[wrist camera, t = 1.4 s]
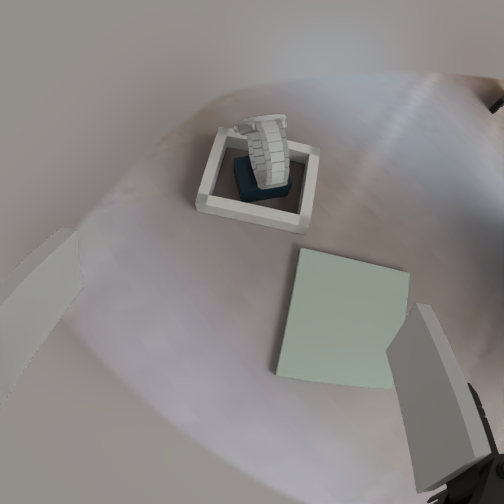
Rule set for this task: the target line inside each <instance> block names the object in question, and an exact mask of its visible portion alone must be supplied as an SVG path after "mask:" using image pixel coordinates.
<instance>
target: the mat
mask: <svg viewBox="0 0 504 504" xmlns="http://www.w3.org/2000/svg"><path fill="white" fill-rule="evenodd" d="M409 279H410V273H407V272H403V271H399V270H395V269H391V268H387V267H382V266H378V265H374V264H370V263H366V262H361V261H357V260H353V259H349V258H344V257H340V256H336V255H331V254H327V253H323V252H318V251H314V250H310V249H305V248H300V251H299V256H298V262H297V268H296V273H295V278H294V284H293V289H292V294H291V300H290V305H289V310H288V315H287V320H286V325H285V330H284V335H283V339H282V344H281V349H280V354H279V358H278V363H277V367H276V372H275V375H276V376H281V377H287V378H293V379H300V380H306V381H313V382H321V383H329V384H337V385H346V386H356V387H367V388H380V389H392V388H393V384H394V380H393V376H392V373H391V369H390V365H389V362H388V358H387V355H386V349H387V348H388V346H389V345H390V343H391V342H392V340H393V339H394V337H395V336H396V334H397V333H398V331H399V329H400V328H401V326H402V325H403V323H404V321H405V315H406V307H407V299H408V290H409Z"/></svg>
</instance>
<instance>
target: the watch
mask: <svg viewBox="0 0 504 504" xmlns="http://www.w3.org/2000/svg"><path fill="white" fill-rule="evenodd" d="M285 118H286V115H283V114H270V115H261V116H255V117H250V118H246V119H243V120H240V121H238V122H237V125H234V126H233V130H234V133H238V132H239V134H240V135H243V136H247V144H248V151H249V154H250V155H249V156H245V157H239V158H234V175H235V179H236V184H237V188H238V192H239V197H240V201H241V202H245V203H248V202H253V201H259V200H265V199H270V198H276V197H282V196H287V195H288V192H289V190H290V188H291V185H292V182H291V179H290V176H289V148H288V142H287V137H286V133H285V128H286V126H287V124H286V119H285ZM258 147H260V148H258ZM283 147H285V148H283ZM277 151H279V152H277ZM270 152H271V153H270ZM284 157H285V158H284Z"/></svg>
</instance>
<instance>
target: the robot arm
mask: <svg viewBox="0 0 504 504" xmlns="http://www.w3.org/2000/svg"><path fill="white" fill-rule="evenodd" d="M83 288H84V285H83V279H82V272H81V265H80V257H79V248H78V239H77V230H73V229H68V228H64V227H61V228H60V229H59V230H57V231H56V232H55V233H54V234H52V235H51V236H50V237H49V238H48V239H47V240H45V241H44V242H43V243H42V244H41V245H40V246H39V247H37V248H36V249H35V250H34V251H33V252H32V253H31V254H29V255H28V256H27V257H26V258H25V259H24V260H23V261H22V262H21V263H20V264H19V265H17V266H16V267H15V268H14V269H13V270H12V271H11V272H10V273H9V274H8V275H7V276H6V277H5V278H4V279H3V280H2V281H1V282H0V409H1V407H2V405H3V404H4V402H5V400H6V399H7V397H8V395H9V394H10V392H11V390H12V389H13V387H14V385H15V384H16V382H17V381H18V379H19V378H20V376H21V374H22V373H23V371H24V370H25V368H26V366H27V365H28V364H29V362H30V361H31V359H32V358H33V356H34V355H35V353H36V352H37V350H38V349H39V347H40V346H41V345H42V343H43V342H44V340H45V339H46V337H47V336H48V334H49V333H50V332H51V330H52V329H53V328H54V326H55V325H56V324H57V322H58V321H59V319H60V318H61V317H62V315H63V314H64V313H65V311H66V310H67V309H68V308H69V306H70V305H71V304H72V302H73V301H74V300H75V298H76V297H77V296H78V295H79V293H80V292H81V291H82V290H83ZM386 355H387V358H388V362H389V365H390V369H391V373H392V376H393V380H394V384H395V388H396V392H397V396H398V400H399V404H400V408H401V412H402V417H403V421H404V426H405V430H406V435H407V440H408V445H409V450H410V455H411V461H412V466H413V472H414V478H415V485H416V491H417V493H422V492H427V491H432V490H435V489H437V488H439V487H440V486H442V485H444V484H445V483H446V485H447V489H445V490H443V491H441V492H440V493H438V494H436V495H434V496H432V497H431V498H430V499H429V500H428V501H427V503H430V502H432V501H434V500H436V499H438V498H439V499H438V501H436V502H435V503H433V504H504V454H499V453H498V450H497V447H496V444H495V441H494V438H493V435H492V432H491V429H490V426H489V423H488V420H487V418H485V412H484V410H483V408H482V404H481V402H480V399H479V397H478V394H477V393H476V391H475V390H474V389H473V387H472V386H471V385H470V383H467V382H466V380H465V377H464V375H463V372H462V370H461V368H460V365H459V363H458V361H457V359H456V356H455V354H454V352H453V350H452V348H451V346H450V343H449V341H448V339H447V337H446V335H445V333H444V331H443V329H442V327H441V325H440V323H439V321H438V319H437V317H436V315H435V313H434V311H433V309H432V307H431V305H427V304H421V303H415V304H414V306H413V308H412V310H411V311H410V313H409V315H408V316H407V318H406V320H405V321H404V323H403V325H402V326H401V328H400V329H399V331H398V333H397V334H396V336H395V337H394V339H393V340H392V342H391V343H390V345H389V346H388V348H387V349H386Z"/></svg>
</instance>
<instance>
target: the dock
mask: <svg viewBox="0 0 504 504" xmlns="http://www.w3.org/2000/svg"><path fill="white" fill-rule="evenodd" d="M287 142H288V148H289V160H290V161H294V162H299V163H303V164H305V169H304V175H303V181H302V188H301V194H300V200H299V205H298V211H297V214H294V213H290V212H285V211H281V210H277V209H272V208H268V207H263V206H259V205H254V204H250V203H245V202H240V201H236V200H231V199H226V198H222V197H217V196H212V195H213V191H214V188H215V185H216V181H217V178H218V174H219V171H220V168H221V164H222V161H223V158H224V154H225V151H226V148H227V147H230V148H235V149H240V150H245V151H248V144H247V136H243V135H240V134H239V132H238V133H234V130H233V129H232V128H226V127H220V126H219V129H218V132H217V135H216V138H215V141H214V144H213V147H212V150H211V153H210V156H209V159H208V162H207V165H206V168H205V171H204V174H203V178H202V181H201V184H200V187H199V191H198V194H197V197H196V200H195V205H196V209H197V211H199V212H203V213H208V214H213V215H217V216H222V217H227V218H231V219H236V220H241V221H245V222H250V223H254V224H259V225H263V226H268V227H272V228H277V229H281V230H285V231H290V232H294V233H298V234H303V235H304V234H305V233H306V231H307V230H308V229H309V226H310V220H311V213H312V206H313V200H314V193H315V186H316V179H317V172H318V164H319V156H320V149H321V148H317V147H313V146H309V145H305V144H301V143H297V142H293V141H289V140H287ZM258 148H260V147H258ZM283 148H285V147H283ZM277 152H279V151H277ZM270 153H271V152H270ZM284 158H285V157H284Z"/></svg>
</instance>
